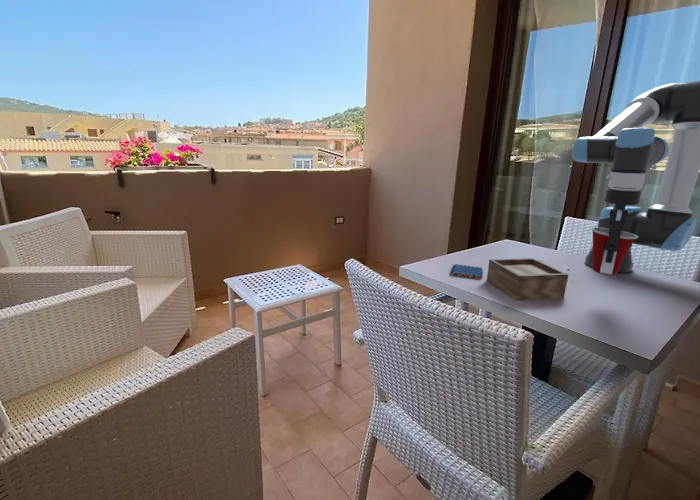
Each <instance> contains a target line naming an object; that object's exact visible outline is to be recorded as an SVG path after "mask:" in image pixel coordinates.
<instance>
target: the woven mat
mask: <svg viewBox="0 0 700 500" xmlns="http://www.w3.org/2000/svg"><path fill="white" fill-rule="evenodd" d="M483 272H484V271H483V267H480V266H473V265H472V266H471V265H466V264H464V265H463V264H457V263H456V264H453V265H452V268H451V271H450V275H451V276H452V277H454V276H455V277H459V278H461V277H462V278H465V279H468V278H469V279H475V280H478V279H479V280H482V278H483V276H484V275H483Z"/></svg>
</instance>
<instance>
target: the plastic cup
mask: <svg viewBox="0 0 700 500" xmlns="http://www.w3.org/2000/svg"><path fill="white" fill-rule="evenodd" d="M591 231H592V247H593V255H592V258H593V267H592V271H594V272H596V273H599V274H601V275H608V276H612V275H613V276H614V275H617V274H618V273H619V272H618V271H619V268H620V266H621V264H622V263H623V261H624V259H625V256H626V254H627V252H628V250H629V248H630V246H631V245H632V246H633V244H632V243H633V242H634V240H635V239H637V238H638V236H637V235H635V234H632V233H628V232H625V231H621V235H620V239H619V244H618V250H617V254H616V258H615V262H614V267H613V271H612V274H606V273H601V272H600V269H601V265H602V260H603V256H604V251H605V250H602V248H603V247H606V245H607V241H608V236H609V234H608V233H609V228H600V227H598V226H597V227H591ZM611 246H615V245H611Z"/></svg>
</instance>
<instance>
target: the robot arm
mask: <svg viewBox="0 0 700 500" xmlns="http://www.w3.org/2000/svg"><path fill="white" fill-rule="evenodd" d="M662 121H663V122H664V121H667V122H669V121H670V122H671V121H672V122H671V127H672V128H673V129H674V130H675V133H674V136H673V140H672V143H671V146H670V148H669V144H668V142H667V141H666V140H665V139H664V138H661V137H658V136H656V135H655V134H656V130H655V128H653V127H644V126H647V125H650V124H651V123H653V122H662ZM669 149H670V150H669ZM571 151H572V153H571V155H572V159H573V160H574V161H575V162H578V163H585V164H590V163H592V164H611V168H610V174H608V175H607V176H606V179H608V184H607V186H608V187H609V188H607V189H606V192H605V196H604V202H605V203H606V204H611V205H613V204H614V206H607V207H604V208H603V209H601V212H600V215H599V218H598V222H597V227H600V228H609V233H608V234H609V236H608V241H607V245H606V247H603V248H602V250H605V251H604V256H603V260H602V265H601V269H600V272H601V273H600V274H602V273H606V274H605V275H607V274H612V271H613V267H614V262H615V258H616V254H617V250H618V244H619V239H620V235H621V231H625V232H628V233H632V234H635V235H637V236H638V238H637V239H635V240H634V242H633V243H632V245H631V246H630V248H629V250H628V252H627V254H626V256H625V259H624V261H623V263H622V264H621V266H620V268H619V271H618V272H617V273H630V272H632V271H633V269H634V263H633V258H632V256H633V255H632V249H633V248H632V246H633V245H638V246H644V247H649V248H654V249H660V250H661V251H662V250H663V251H671V252H679V251H681V250H682V249H684V248H685V247H686V245H687V244H688V243H689V241H690V239H691V238H692V237H693V235H694V232H695V229H696V226H697V223H698V220H697V219H696V218H694V217H692V216H693V210H692V209H690V207H689V205H690V202H691V199H692V195H693V192H694V189H695V186H696V183H697V180H698V176H699V173H700V80H696V81H686V82H677V83H676V82H675V83H668V84H664V85H661V86H657V87H655V88H653V89H650V90H648V91H646V92H644V93H642V94H640V95H638V96H637V97H635V98H634V99H633V100H631V101H630V102H629V103H628V104H627V106H626V108H625V110H624V111H623V112H621V113H620V114H619V115H618V116H616V117H615V118H614V119H613V120H612V121H610V122H609V123H608V124H606V125H605V126H603V128H602V129H600V130H599V131H597V132H596V133H595V134H594V135H592V136H582V137H581V136H580V137H578V138H577V139H576V140H575V142H574V143H573V145H572V150H571ZM668 153H669V154H668ZM667 155H668V157H667ZM666 157H667V161H666V163H665V168H664V172H663V174H662V178H661V182H660V185H659V188H658V192H657V196H656V199H655V201H654V202H655V203H653V204H652V205H651V206H650V205H649V206H648V208H647V210H646V212H645V211H642V207H640V206H637V205H638V204H639V203H640V199H641V195H642V192H641V190H642V188H643V187H644V183H645V179H646V174H647V169H648V166H652V165H655V164H658V163H660V162H661V161H663V160H664V159H665V158H666ZM611 245H615V246H611ZM592 255H593V246H592V247H591V248H590V251H589V252H588V254H587V255H586V256H585V257H584V258H585V259H584V264H585V265H587V266H588V267H590V268H593V258H592Z"/></svg>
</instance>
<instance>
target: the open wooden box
mask: <svg viewBox="0 0 700 500" xmlns="http://www.w3.org/2000/svg"><path fill="white" fill-rule="evenodd" d="M487 269H488V270H487V275H486V282H488V283H489V284H490V285H492V286H493V287H495V288H496V289H498V290H500V291H501V292H502V293H503V294H505V295H506V296H508V297H510V299H512V300H514V301H530V300H531V301H532V300H550V299H553V300H554V299H565V293H566V289H567V283H568V278H569V274H568V273H566V272H564V271H562V270H560V269H557V268H556V267H553V266H552V265H549V264H547V263H546V262H542V261H540V260H538V259H536V258H534V257H530V258H528V257H527V258H525V257H524V258H498V259H490V258H489V259H488V268H487Z"/></svg>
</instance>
